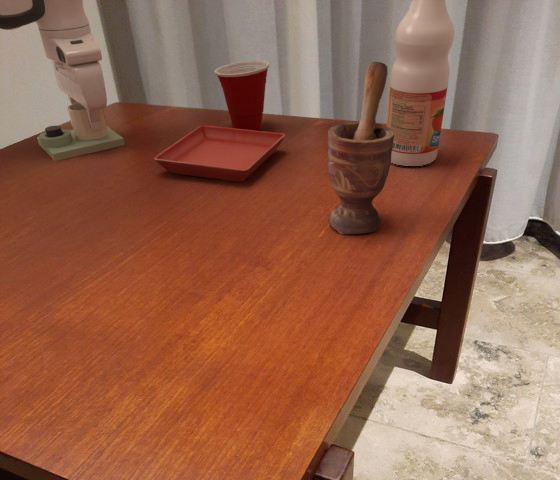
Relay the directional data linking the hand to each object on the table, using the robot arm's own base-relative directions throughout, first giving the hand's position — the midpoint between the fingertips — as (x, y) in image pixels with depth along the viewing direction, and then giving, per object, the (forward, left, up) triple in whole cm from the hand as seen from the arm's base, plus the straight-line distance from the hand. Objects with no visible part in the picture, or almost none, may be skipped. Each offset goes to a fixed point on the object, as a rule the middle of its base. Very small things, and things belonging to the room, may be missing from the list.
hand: (88, 123), depth 110 cm
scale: (-2, 0, -4) cm, 4 cm away
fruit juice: (+44, -46, -4) cm, 63 cm away
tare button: (-7, 0, -1) cm, 7 cm away
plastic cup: (+29, -13, -4) cm, 32 cm away
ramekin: (0, 0, -2) cm, 2 cm away
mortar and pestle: (+21, -59, -4) cm, 63 cm away
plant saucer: (+16, -27, -4) cm, 31 cm away
